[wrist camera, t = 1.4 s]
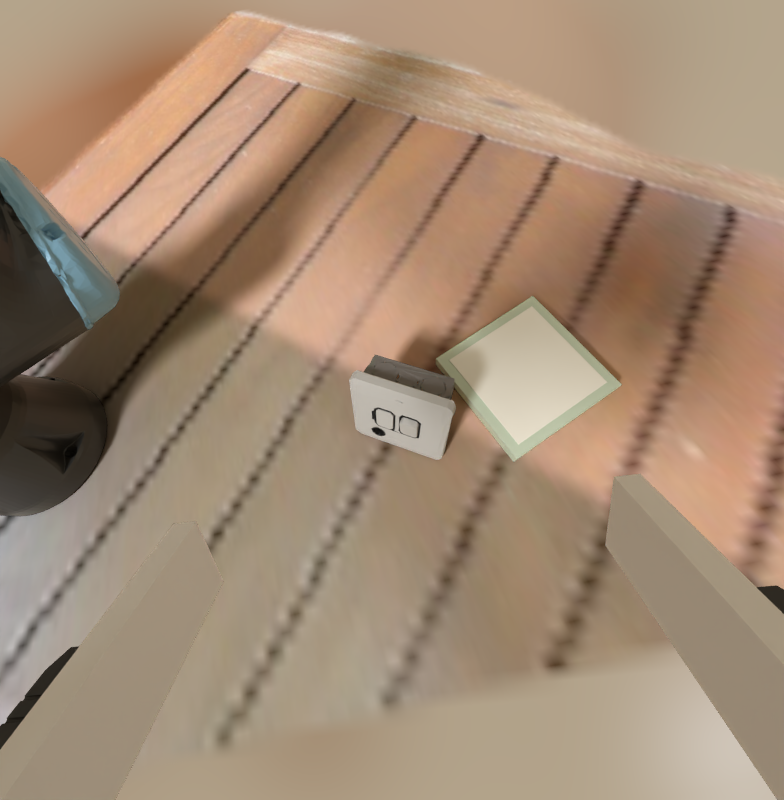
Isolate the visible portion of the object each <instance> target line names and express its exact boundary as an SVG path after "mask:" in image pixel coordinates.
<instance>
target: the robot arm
mask: <svg viewBox="0 0 784 800" xmlns="http://www.w3.org/2000/svg"><path fill="white" fill-rule="evenodd" d="M119 295H120V291H119V288H118V285H117V283H116V282H115V280H114V279H113V277H112V276H111V274H110V273H109V272H108V270H107V269H106V268H105V266H104V265H103V264H102V262H101V261H100V260H99V259H98V257H97V256H96V255H95V254H94V252H93V251H92V250H91V249H90V248H89V246H88V245H87V244H86V243H85V242H84V240H83V239H82V238H81V237H80V236H79V235H78V233H77V232H76V231H75V230H74V229H73V228H72V226H71V225H70V224H69V223H68V222H67V221H66V220H65V218H64V217H63V216H62V215H61V214H60V213H59V212H58V211H57V209H56V208H55V207H54V206H53V205H52V204H51V203H50V202H49V201H48V200H47V198H46V197H45V196H44V195H43V194H42V193H41V192H40V191H39V190H38V189H37V188H36V187H35V186H34V185H33V183H31V181H29V179H28V178H27V177H26V176H25V175H24V174H23V173H22V172H21V171H20V170H18V169H17V168H16V167H15V166H13V165H12V164H11V163H10V162H9V161H7V160H6V159H4V158H2V157H0V515H3V516H28V515H33V514H37V513H40V512H43V511H45V510H48V509H50V508H52V507H54V506H55V505H57V504H59V503H60V502H62V501H63V500H65V499H66V498H67V497H69V496H70V495H71V494H72V493H73V492H75V491H76V490H77V489H78V488H79V487H80V486H81V485H82V483H83V482H84V481H85V480H86V479H87V477H88V476H89V475H90V473H91V472H92V470H93V469H94V467H95V465H96V464H97V462H98V460H99V458H100V455H101V453H102V450H103V447H104V444H105V439H106V433H107V420H106V415H105V411H104V408H103V406H102V404H101V402H100V401H99V399H98V398H97V397H96V396H95V395H94V394H93V393H92V392H91V391H89V390H88V389H86V388H84V387H81V386H79V385H77V384H74V383H72V382H70V381H67V380H64V379H60V378H55V377H31V376H27V375H21V373H23V372H24V371H26V370H27V369H29V368H30V367H32V366H33V365H35V364H36V363H38V362H39V361H41V360H42V359H44V358H45V357H47V356H48V355H50V354H51V353H53V352H54V351H56V350H57V349H59V348H61V347H62V346H64V345H65V344H67V343H68V342H70V341H71V340H73V339H74V338H76V337H77V336H79V335H80V334H82V333H83V332H85V331H86V330H90V329H91V328H92V327H93V324H94V323H95V322H97V321H98V320H99V319H100V318H102V317H103V316H104V315H105V314H107V313H108V312H109V311H111V310H112V309H113V308H114V307H115V306H116V304H117V303H118V301H119ZM605 545H606V547H607V548H608V550H609V551H610V553H611V554H612V556H613V557H614V559H615V560H616V562H617V563H618V565H619V566H620V568H621V569H622V571H623V572H624V574H625V575H626V577H627V578H628V579H629V581H630V582H631V584H632V585H633V587H634V588H635V590H636V591H637V593H638V594H639V596H640V597H641V599H642V600H643V602H644V603H645V605H646V606H647V608H648V609H649V611H650V612H651V614H652V615H653V616H654V618H655V619H656V621H657V622H658V624H659V625H660V627H661V628H662V630H663V631H664V633H665V634H666V636H667V637H668V639H669V640H670V642H671V643H672V645H673V646H674V648H675V649H676V651H677V652H678V654H679V655H680V656H681V658H682V659H683V661H684V662H685V664H686V665H687V667H688V668H689V670H690V671H691V673H692V674H693V676H694V677H695V679H696V680H697V682H698V683H699V685H700V686H701V688H702V689H703V691H704V692H705V693H706V695H707V696H708V698H709V699H710V701H711V702H712V704H713V705H714V707H715V708H716V710H717V711H718V713H719V714H720V716H721V717H722V719H723V720H724V721H725V723H726V725H727V726H728V727H729V729H730V730H731V732H732V733H733V735H734V736H735V738H736V739H737V741H738V742H739V744H740V745H741V747H742V748H743V750H744V751H745V753H746V754H747V756H748V757H749V759H750V760H751V761H752V763H753V764H754V766H755V767H756V769H757V770H758V772H759V773H760V775H761V776H762V778H763V779H764V781H765V782H766V784H767V785H768V786H769V788H770V790H771V791H772V793H773V794H774V796H775V797H776V798H777V800H784V590H783V589H782V588H780V587H778V586H766V587H755V586H754V585H753V584H752V583H751V582H750V581H749V580H748V579H747V578H746V577H745V576H744V575H743V574H742V573H741V572H740V571H739V570H738V569H737V568H736V567H735V566H734V565H733V564H732V563H731V562H730V561H729V560H728V559H727V558H726V557H725V556H724V555H723V554H722V553H721V552H720V551H719V550H718V549H717V548H716V547H714V546H713V545H712V544H711V543H710V542H709V541H708V540H707V539H706V538H705V537H704V536H703V535H702V534H701V533H700V532H699V531H698V530H697V529H696V528H695V527H694V526H693V525H692V524H691V523H690V522H689V521H688V520H687V519H686V518H685V517H684V516H683V515H682V514H681V513H680V512H679V511H678V510H677V509H676V508H675V507H674V506H673V505H672V504H671V503H669V502H668V501H667V500H666V499H665V498H664V497H663V496H662V495H661V494H660V493H659V492H658V491H657V490H656V489H655V488H654V487H653V486H652V485H651V484H650V483H649V482H648V481H647V480H646V479H645V478H644V477H643V476H642V475H641V474H635V475H626V476H616V477H614V480H613V488H612V496H611V504H610V512H609V520H608V528H607V536H606V544H605ZM223 582H224V581H223V579H222V577H221V575H220V572H219V570H218V568H217V566H216V564H215V561H214V559H213V557H212V555H211V553H210V550H209V548H208V546H207V544H206V542H205V539H204V537H203V535H202V533H201V531H200V528H199V526H198V524H197V522H196V521H193V522H184V523H174V524H173V525H172V526H171V528H170V529H169V530H168V532H167V533H166V534H165V536H164V537H163V538H162V539H161V541H160V542H159V543H158V545H157V546H156V547H155V549H154V550H153V551H152V552H151V554H150V555H149V556H148V558H147V559H146V560H145V562H144V563H143V564H142V565H141V567H140V568H139V569H138V571H137V572H136V573H135V575H134V576H133V577H132V579H131V580H130V581H129V582H128V584H127V585H126V586H125V588H124V589H123V590H122V592H121V593H120V594H119V595H118V597H117V598H116V599H115V601H114V602H113V603H112V605H111V606H110V607H109V608H108V610H107V611H106V612H105V614H104V615H103V616H102V618H101V619H100V620H99V622H98V623H97V624H96V625H95V627H94V628H93V629H92V631H91V632H90V633H89V635H88V636H87V637H86V638H85V640H84V641H83V642H82V644H81V645H80V646H79V647H71V648H70V649H68V650H67V651H66V652H65V653H64V654H63V655H62V656H61V657H60V658H58V659H57V660H56V661H55V662H54V663H53V664H52V665H51V666H49V667H48V668H47V669H46V670H45V671H44V673H43V674H42V675H41V676H40V678H39V679H38V680H37V681H36V683H35V684H34V685H33V686H32V687H31V689H30V690H29V691H28V692H27V694H26V695H25V699H24V700H23V701H20V702H19V704H18V705H17V706H16V707H15V709H14V710H13V711H12V712H11V714H10V715H9V716H8V717H7V721H6V723H5V724H2V725H1V726H0V800H116V798H117V796H118V794H119V792H120V790H121V788H122V786H123V784H124V782H125V780H126V778H127V776H128V774H129V772H130V770H131V768H132V766H133V764H134V761H135V759H136V757H137V755H138V753H139V751H140V749H141V747H142V745H143V743H144V741H145V739H146V737H147V735H148V733H149V731H150V729H151V727H152V725H153V723H154V721H155V719H156V717H157V715H158V713H159V711H160V709H161V707H162V705H163V703H164V701H165V699H166V697H167V695H168V693H169V691H170V689H171V687H172V685H173V683H174V681H175V679H176V677H177V675H178V673H179V671H180V669H181V667H182V665H183V663H184V661H185V659H186V656H187V654H188V652H189V650H190V648H191V646H192V644H193V642H194V640H195V638H196V636H197V634H198V632H199V630H200V628H201V626H202V624H203V622H204V620H205V618H206V616H207V614H208V612H209V610H210V608H211V606H212V604H213V602H214V600H215V598H216V596H217V594H218V592H219V590H220V588H221V586H222V584H223Z"/></svg>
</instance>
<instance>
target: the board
mask: <svg viewBox="0 0 784 800" xmlns="http://www.w3.org/2000/svg"><path fill="white" fill-rule="evenodd" d="M436 365H437V367H438V368H439V369H440V370H441V372H442V373H443V374H444V375H445V376H447V377H451V378H454V379H455V381H454V382H455V384H453V385H454V388H455V389H456V391H457V392H458V393H459V394H460V396H461V397H462V398H463V399H464V401H465V402H466V403H467V404H468V406H469V407H470V408H471V409H472V411H473V412H474V413H475V414H476V416H477V417H478V418H479V419H480V421H481V422H482V423H483V424H484V426H485V427H486V428H487V429H488V431H489V432H490V433H491V434H492V436H493V437H494V438H495V439H496V441H497V442H498V443H499V444H500V446H501V447H502V448H503V449H504V451H505V452H506V453H507V454H508V456H509V457H510V458H511V459H512V461H513V462H514V461H516V460H517V459H519V458H520V457H522V456H523V455H524V454H526V453H527V452H529V451H530V450H531V449H533V448H534V447H536V446H537V445H538V444H540V443H541V442H543V441H544V440H546V439H547V438H548V437H550V436H551V435H553V434H554V433H555V432H557V431H558V430H560V429H561V428H563V427H564V426H565V425H567V424H568V423H570V422H571V421H572V420H574V419H575V418H577V417H578V416H579V415H581V414H582V413H584V412H585V411H587V410H588V409H589V408H591V407H592V406H594V405H595V404H596V403H598V402H599V401H601V400H602V399H604V398H605V397H606V396H608V395H609V394H611V393H612V392H613V391H615V390H616V389H617V388H619V387H620V386H621V385H622V384H621V383H620V382H619V381H618V380H617V379H616V378H615V377H614V376H613V375H612V374H611V373H610V372H609V371H608V370H607V369H606V368H605V367H604V366H603V365H602V364H601V363H600V362H599V361H598V360H597V359H596V358H595V357H594V356H593V355H592V354H591V353H590V352H589V351H588V350H587V349H586V348H585V347H584V346H583V345H582V344H581V343H580V342H579V341H578V340H577V339H576V338H575V337H574V336H573V335H572V334H571V333H570V332H569V331H568V330H567V329H566V328H565V327H564V326H563V325H562V324H561V323H560V322H559V321H558V320H557V319H556V318H555V317H554V316H553V315H552V314H551V313H550V312H549V311H548V310H547V309H546V308H545V307H544V306H543V305H542V304H541V303H540V302H539V301H538V300H537V299H536V298H535V297H533V296H532V297H530V298H529V299H527V300H525V301H524V302H522V303H521V304H519V305H518V306H516V307H515V308H513V309H512V310H510V311H508V312H507V313H505V314H504V315H502V316H501V317H499V318H498V319H496V320H495V321H493V322H491V323H490V324H488V325H487V326H485V327H484V328H482V329H481V330H479V331H478V332H476V333H474V334H473V335H471V336H470V337H468V338H467V339H465V340H464V341H462V342H461V343H459V344H458V345H456V346H454V347H453V348H451V349H450V350H448V351H447V352H445V353H444V354H442V355H441V356H439V357H437V358H436Z"/></svg>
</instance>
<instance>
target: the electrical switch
mask: <svg viewBox="0 0 784 800" xmlns="http://www.w3.org/2000/svg"><path fill="white" fill-rule="evenodd" d="M394 366H395V367H394ZM398 374H399V378H398V379H396V378H397V375H398ZM418 381H419V382H418ZM422 381H423V382H422ZM454 381H455V379H454V378H451V377H447V376H444V375H441V374H437V373H434V372H431V371H427V370H424V369H421V368H418V367H414V366H411V365H408V364H404V363H401V362H398V361H394V360H391V359H388V358H384V357H381V356H378V355H375V356H374V357H373V359H372V361H371V363H370V365H368V366H367V367H366V369H365V371H364V372H361V371H358V370H357V371H355V372H353V374H352V376H351V378H350V380H349V382H350V390H351V397H352V404H353V412H354V419H355V426H356V429H357V430H358V431H359V432H360V433H362V434H364V435H367V436H370V437H373V438H376V439H379V440H381V441H384V442H387V443H390V444H393V445H396V446H398V447H401V448H404V449H407V450H410V451H413V452H416V453H418V454H421V455H424V456H427V457H430V458H433V459H436V460H439V459H441V458H442V456H443V454H444V452H445V448H446V443H447V439H448V434H449V430H450V425H451V421H452V416H453V415H454V414H455V411H456V405H455V403H454V401H452V400H451V398H452V394H453V389H454V385H453V384H455V382H454ZM397 382H398V383H397ZM417 382H418V384H417ZM414 387H416V388H414ZM421 388H422V389H421ZM422 390H423V391H422ZM439 395H440V396H439Z"/></svg>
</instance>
